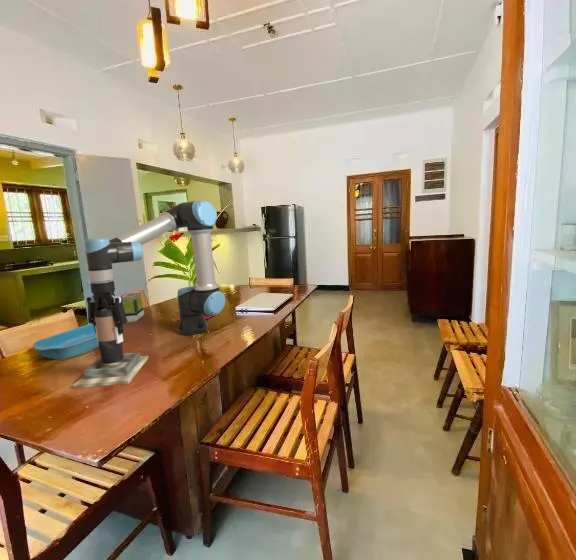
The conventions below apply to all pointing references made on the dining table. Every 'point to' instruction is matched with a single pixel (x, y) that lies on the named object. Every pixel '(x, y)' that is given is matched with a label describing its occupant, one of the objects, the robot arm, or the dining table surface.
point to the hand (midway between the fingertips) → (110, 341)
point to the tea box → (133, 306)
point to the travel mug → (107, 337)
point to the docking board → (112, 371)
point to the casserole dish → (68, 343)
